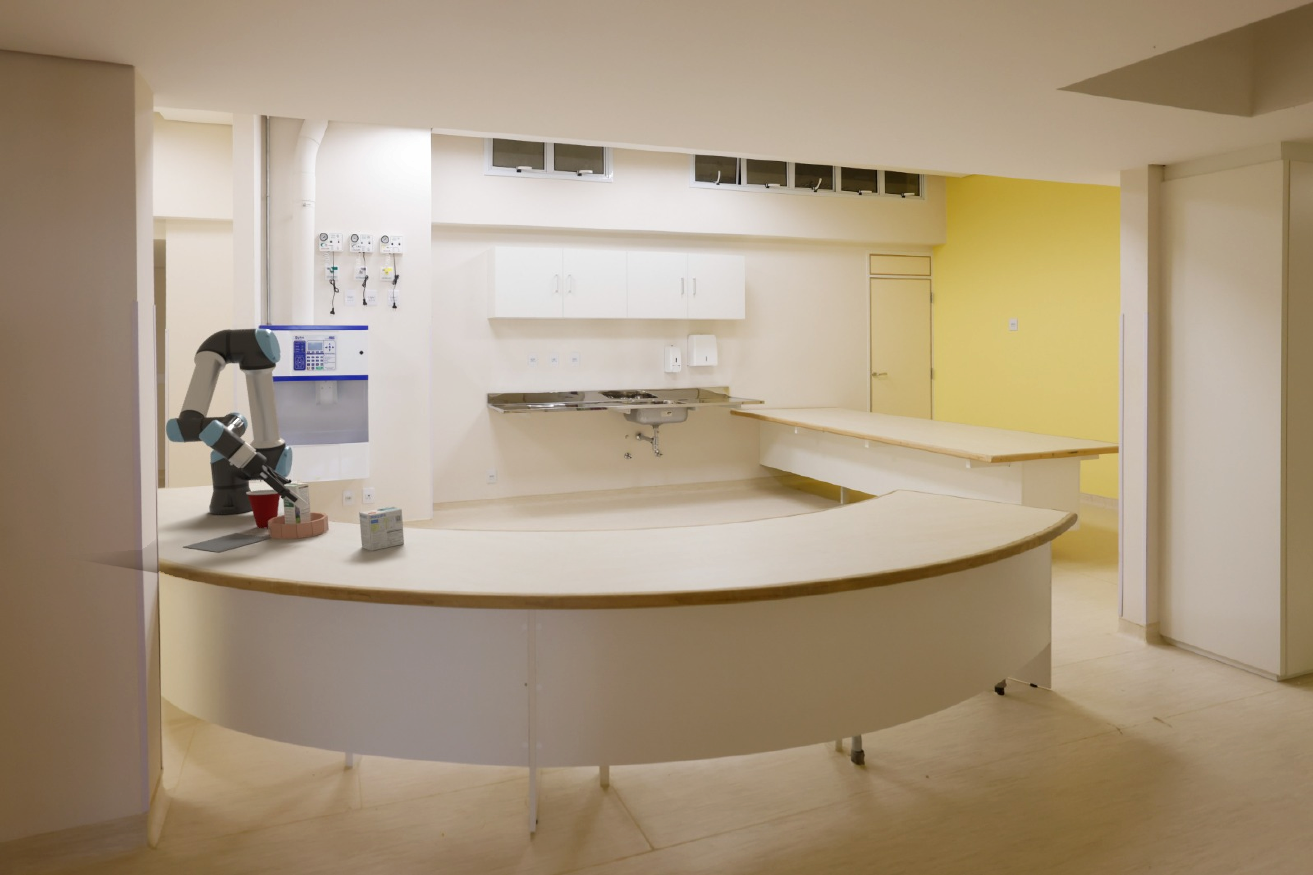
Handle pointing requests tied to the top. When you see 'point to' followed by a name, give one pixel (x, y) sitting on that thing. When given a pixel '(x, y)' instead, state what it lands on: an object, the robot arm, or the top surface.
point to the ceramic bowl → (298, 527)
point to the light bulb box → (381, 528)
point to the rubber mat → (227, 542)
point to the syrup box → (294, 512)
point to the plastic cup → (264, 506)
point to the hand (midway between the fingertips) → (304, 503)
